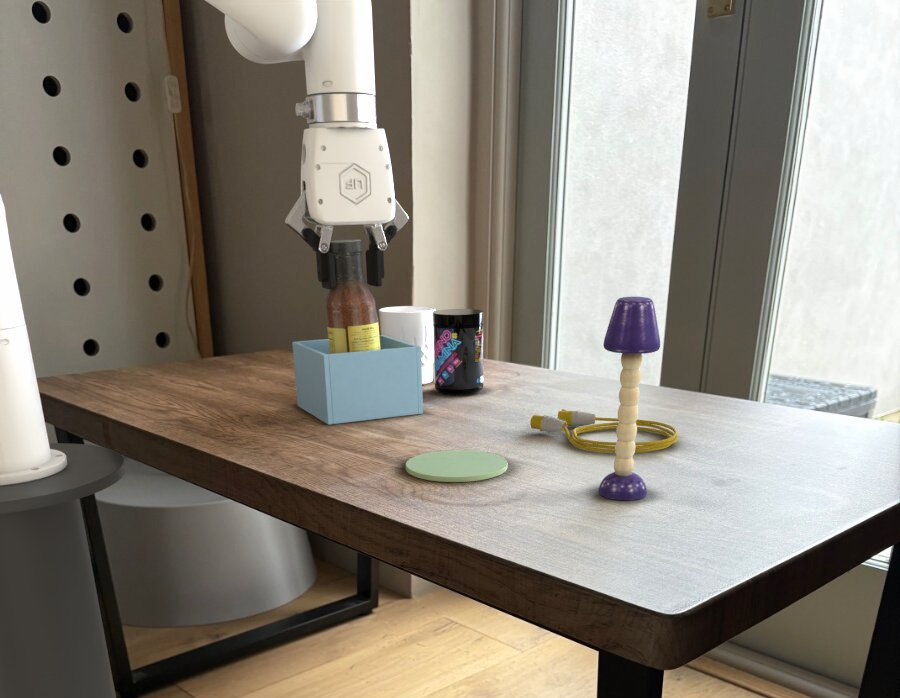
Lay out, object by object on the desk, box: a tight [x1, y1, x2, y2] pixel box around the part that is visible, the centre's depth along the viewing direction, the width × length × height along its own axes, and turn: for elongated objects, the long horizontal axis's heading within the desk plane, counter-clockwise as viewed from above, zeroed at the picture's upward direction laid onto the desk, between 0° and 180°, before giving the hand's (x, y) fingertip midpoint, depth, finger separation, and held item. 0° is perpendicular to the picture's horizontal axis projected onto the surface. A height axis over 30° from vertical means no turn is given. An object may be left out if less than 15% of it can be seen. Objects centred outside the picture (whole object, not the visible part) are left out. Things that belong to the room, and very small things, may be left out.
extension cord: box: [530, 409, 679, 454], centre depth 101 cm, size 12×16×2 cm
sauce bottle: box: [325, 239, 380, 354], centre depth 112 cm, size 7×6×20 cm
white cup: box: [378, 305, 436, 385], centre depth 131 cm, size 8×8×10 cm
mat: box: [405, 449, 509, 483], centre depth 91 cm, size 10×10×1 cm
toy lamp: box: [598, 296, 661, 501], centre depth 79 cm, size 5×5×17 cm
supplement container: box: [433, 308, 485, 397], centre depth 124 cm, size 7×7×10 cm
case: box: [292, 334, 424, 426], centre depth 115 cm, size 12×12×8 cm
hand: (351, 285), depth 110 cm, fingers open, 5 cm apart
